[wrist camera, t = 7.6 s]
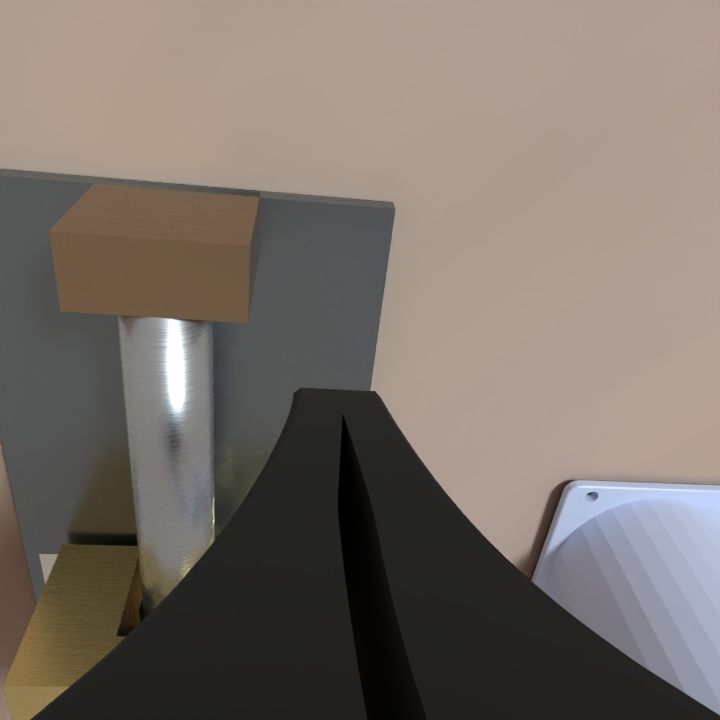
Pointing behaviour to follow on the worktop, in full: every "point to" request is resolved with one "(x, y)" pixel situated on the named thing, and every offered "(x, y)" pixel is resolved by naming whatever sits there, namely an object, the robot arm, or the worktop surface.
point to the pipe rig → (168, 352)
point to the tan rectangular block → (74, 623)
